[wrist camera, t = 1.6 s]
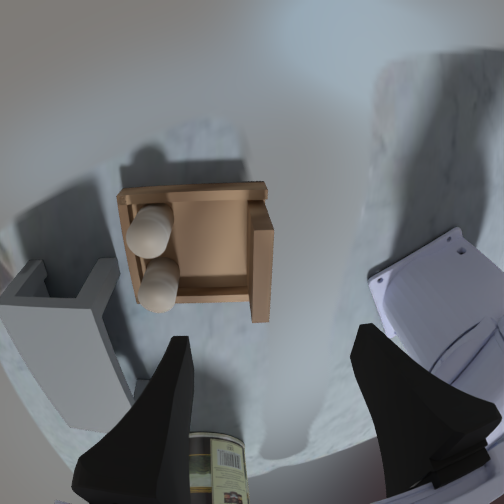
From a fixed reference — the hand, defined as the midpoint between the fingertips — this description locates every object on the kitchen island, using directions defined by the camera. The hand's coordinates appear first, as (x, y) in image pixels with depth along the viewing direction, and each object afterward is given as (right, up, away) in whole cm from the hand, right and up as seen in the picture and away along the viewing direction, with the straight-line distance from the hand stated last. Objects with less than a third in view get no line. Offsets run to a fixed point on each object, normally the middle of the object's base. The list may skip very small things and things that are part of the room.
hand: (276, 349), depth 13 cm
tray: (-5, +5, +9) cm, 11 cm away
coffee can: (-7, -22, +23) cm, 33 cm away
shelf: (-15, -3, +12) cm, 19 cm away
